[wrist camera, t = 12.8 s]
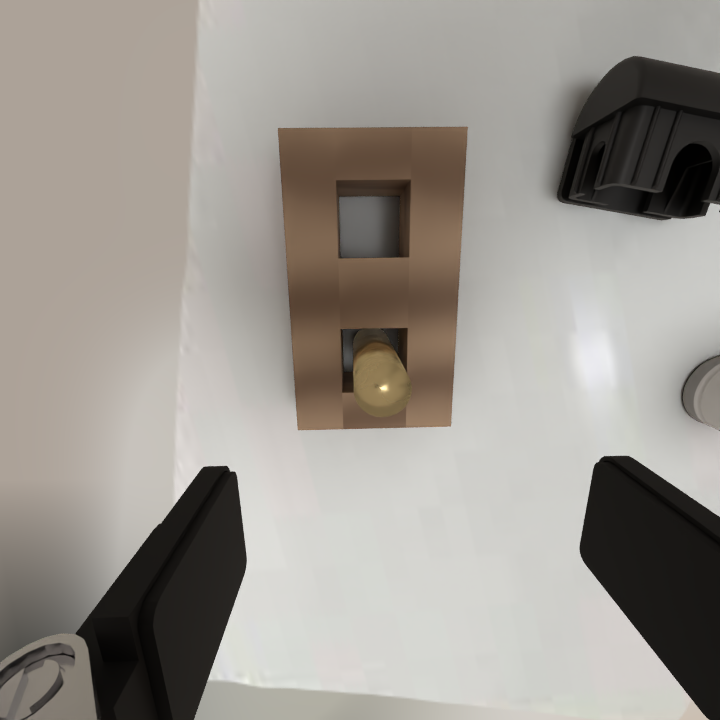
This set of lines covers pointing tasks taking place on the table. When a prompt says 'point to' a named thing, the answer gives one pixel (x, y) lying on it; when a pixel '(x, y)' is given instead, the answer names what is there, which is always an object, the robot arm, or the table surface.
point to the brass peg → (378, 374)
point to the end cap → (647, 142)
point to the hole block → (373, 265)
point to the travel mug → (704, 393)
